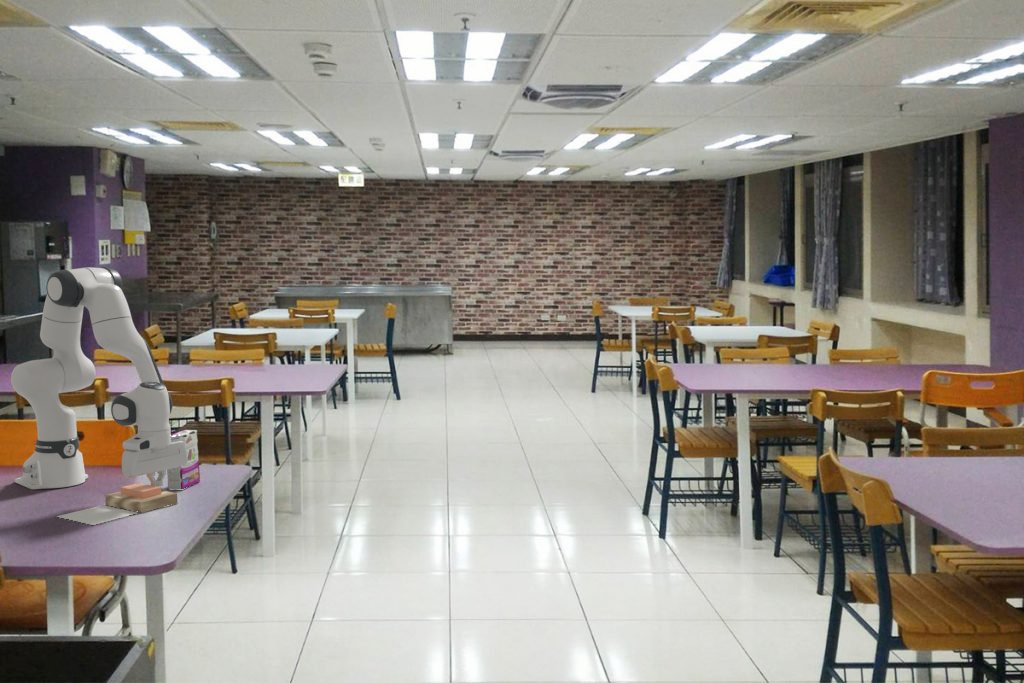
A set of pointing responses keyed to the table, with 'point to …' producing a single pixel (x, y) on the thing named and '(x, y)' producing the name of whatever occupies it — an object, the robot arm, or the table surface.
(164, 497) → the plate
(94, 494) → the table surface
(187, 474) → the candy bar box
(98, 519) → the mat
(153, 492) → the salmon pink rectangular block
